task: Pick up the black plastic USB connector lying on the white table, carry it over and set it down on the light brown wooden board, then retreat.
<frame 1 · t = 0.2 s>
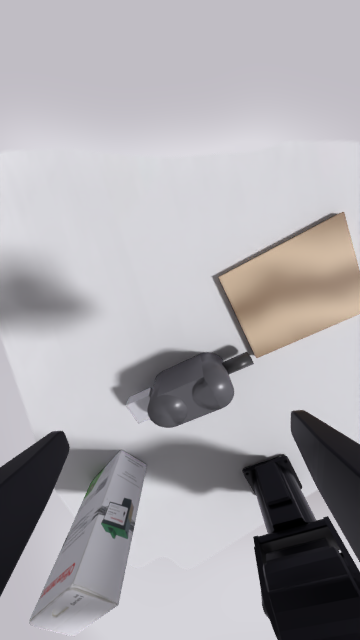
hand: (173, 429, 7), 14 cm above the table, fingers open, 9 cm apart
light brown wooden board: (291, 292, 19), on the table
ink box: (119, 470, 27), on the table
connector: (188, 375, 22), on the table
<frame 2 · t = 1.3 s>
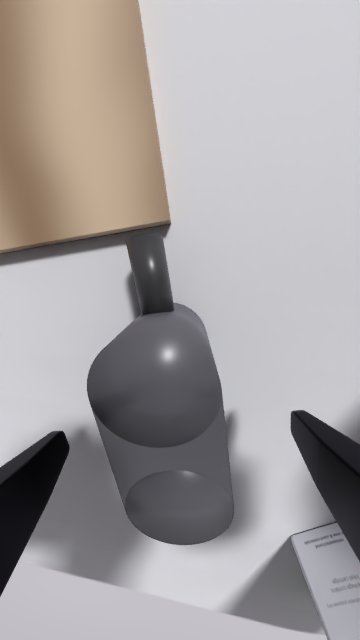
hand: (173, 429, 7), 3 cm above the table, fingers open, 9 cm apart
light brown wooden board: (18, 75, 7), on the table
ink box: (336, 554, 14), on the table
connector: (176, 379, 10), on the table
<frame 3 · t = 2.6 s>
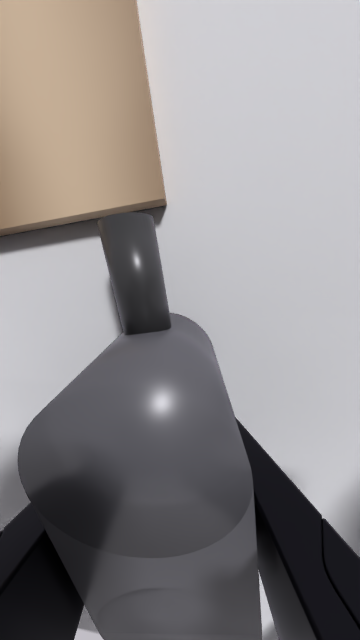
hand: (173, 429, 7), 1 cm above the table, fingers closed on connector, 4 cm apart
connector: (174, 410, 8), on the table, touching gripper
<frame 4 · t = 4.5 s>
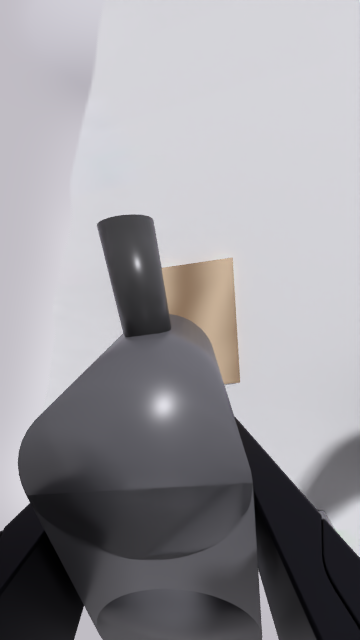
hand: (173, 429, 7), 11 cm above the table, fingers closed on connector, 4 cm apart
light brown wooden board: (182, 330, 18), on the table
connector: (174, 411, 8), point 10 cm above the table, touching gripper
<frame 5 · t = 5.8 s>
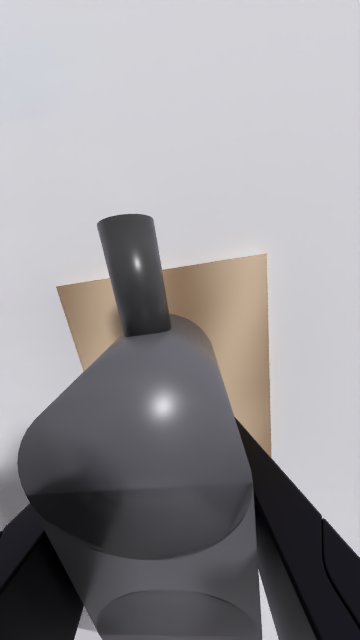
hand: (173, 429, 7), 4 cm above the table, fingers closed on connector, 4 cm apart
light brown wooden board: (176, 376, 11), on the table
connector: (174, 411, 8), point 3 cm above the table, touching gripper
when the fingers open (3 cm above the table, at t = 6.7 s): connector drops 1 cm, resting on light brown wooden board.
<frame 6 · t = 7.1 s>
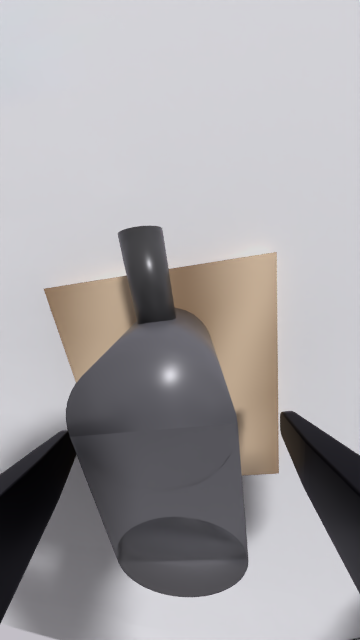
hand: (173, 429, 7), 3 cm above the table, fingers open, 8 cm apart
light brown wooden board: (176, 385, 10), on the table
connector: (177, 393, 9), point 1 cm above the table, touching light brown wooden board
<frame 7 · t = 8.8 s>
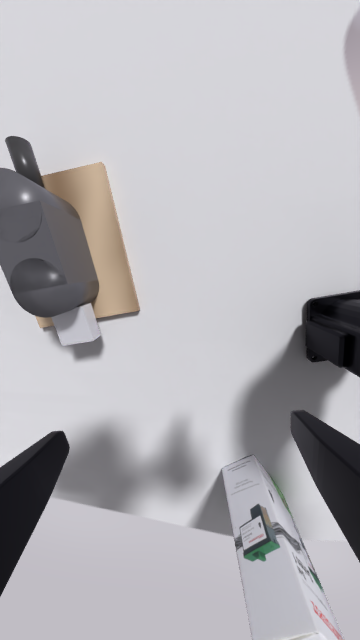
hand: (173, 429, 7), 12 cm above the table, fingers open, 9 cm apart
light brown wooden board: (71, 255, 17), on the table
ink box: (251, 480, 24), on the table
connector: (68, 255, 16), point 1 cm above the table, touching light brown wooden board
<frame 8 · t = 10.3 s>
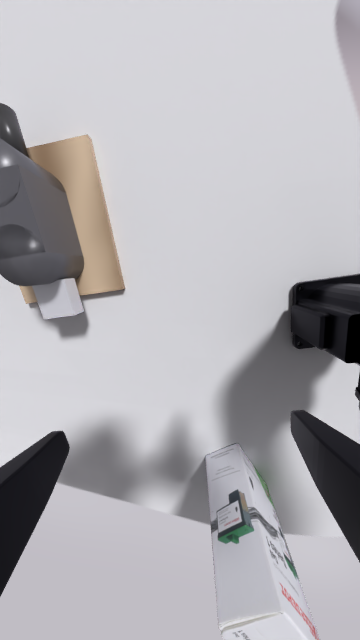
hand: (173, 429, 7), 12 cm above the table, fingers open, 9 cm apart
light brown wooden board: (57, 231, 17), on the table
ink box: (235, 469, 24), on the table
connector: (53, 230, 16), point 1 cm above the table, touching light brown wooden board
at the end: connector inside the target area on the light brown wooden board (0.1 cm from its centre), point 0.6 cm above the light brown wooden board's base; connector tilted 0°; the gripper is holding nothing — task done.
